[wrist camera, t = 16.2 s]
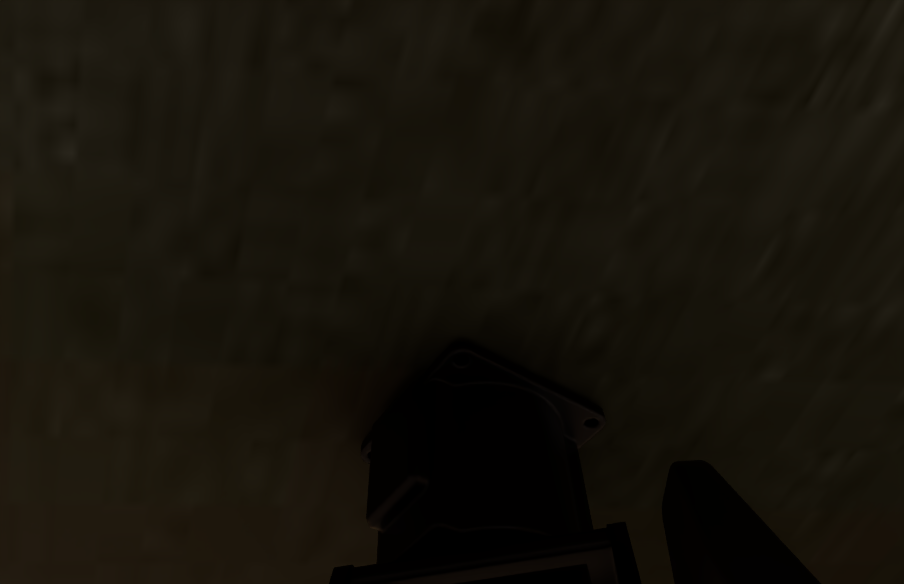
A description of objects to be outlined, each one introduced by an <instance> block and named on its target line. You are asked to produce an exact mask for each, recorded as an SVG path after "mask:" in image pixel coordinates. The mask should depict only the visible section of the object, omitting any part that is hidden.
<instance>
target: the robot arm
mask: <svg viewBox="0 0 904 584" xmlns="http://www.w3.org/2000/svg"><path fill="white" fill-rule="evenodd" d="M461 355H463V356H466V357H465V358H461V359H460V358H456V357H457V356H461ZM591 418H593V419H591ZM588 419H590V420H588ZM605 423H606V420H605V415H604V412H603V409H602V408H600V407H599V406H597V405H595V404H593V403H591V402H589V401H587V400H585V399H583V398H581V397H579V396H577V395H575V394H573V393H570V392H568V391H566V390H564V389H562V388H560V387H558V386H556V385H554V384H552V383H550V382H548V381H546V380H544V379H542V378H540V377H538V376H536V375H534V374H532V373H530V372H528V371H526V370H523V369H521V368H519V367H517V366H515V365H513V364H511V363H509V362H507V361H505V360H503V359H501V358H499V357H497V356H495V355H493V354H491V353H489V352H487V351H485V350H483V349H481V348H478V347H476V346H474V345H472V344H470V343H467V342H456V343H453V344H451V345H450V346H449V347H448V348H447V349H446V350H445V351H444V352H443V353H442V354H441V355H440V357H439V358H438V359H437V360H436V361H435V362H434V363H433V364H432V366H431V367H430V368H429V369H428V370H427V371H426V372H425V373H424V374H423V376H422V377H421V378H420V379H419V380H418V381H415V382H413V383H411V384H409V385H408V386H407V387H406V388H405V389H404V391H403V392H402V393H401V394H400V395H399V396H398V397H397V398H396V400H395V401H394V402H393V403H392V404H391V405H390V406H389V407H388V409H387V410H386V411H385V412H384V413H383V414H382V415H381V416H380V418H379V419H378V420H377V421H376V422H375V423H374V425H373V430H372V433H371V434H370V435H369V436H368V437H367V438H366V439H365V440H364V442H363V443H362V445H361V458H362V459H363V461H365V462H367V463H369V464H370V472H369V486H368V500H367V514H366V519H367V522H368V525H369V527H371V528H373V529H376V530H378V548H377V564H373V565H367V566H360V567H354V566H353V565H347V566H341V567H335V568H334V569H333V572H332V576H331V579H330V582H329V584H641V580H640V576H639V572H638V569H637V565H636V561H635V557H634V553H633V549H632V546H631V542H630V538H629V534H628V530H627V527H626V523H625V522H619V523H613V524H607V528H602V529H595V530H593V525H592V520H591V515H590V510H589V505H588V500H587V495H586V490H585V484H584V479H583V474H582V469H581V464H580V459H579V454H578V449H579V448H580V447H582V446H583V445H584V444H585V443H586V442H587V441H588V440H590V439H591V438H592V437H593V436H594V435H595V434H597V433H598V432H599V431H600V430H601V429H602V428H603V427H604V426H605ZM662 515H663V523H664V528H665V534H666V539H667V544H668V550H669V555H670V561H671V566H672V571H673V577H674V582H675V584H821V583H820V582H819V581H818V580H817V579H816V578H815V577H814V576H813V575H812V573H811V572H810V571H809V570H808V569H807V568H806V567H805V566H804V565H803V564H802V563H801V562H800V561H799V559H798V558H797V557H796V556H795V555H794V554H793V553H792V552H791V551H790V550H789V549H788V548H787V546H786V545H785V544H784V543H783V542H782V541H781V540H780V539H779V538H778V537H777V536H776V535H775V533H774V532H773V531H772V530H771V529H770V528H769V527H768V526H767V525H766V524H765V523H764V522H763V521H762V519H761V518H760V517H759V516H758V515H757V514H756V513H755V512H754V511H753V510H752V509H751V508H750V506H749V505H748V504H747V503H746V502H745V501H744V500H743V499H742V498H741V497H740V496H739V495H738V494H737V492H736V491H735V490H734V489H733V488H732V487H731V486H730V485H729V484H728V483H727V482H726V481H725V479H724V478H723V477H722V476H721V475H720V474H719V473H718V472H717V471H716V470H715V469H714V468H713V467H712V466H711V465H710V464H709V463H708V462H705V461H702V460H694V461H677V462H674V463H673V464H672V465H671V467H670V469H669V474H668V478H667V483H666V488H665V493H664V497H663V502H662Z"/></svg>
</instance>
